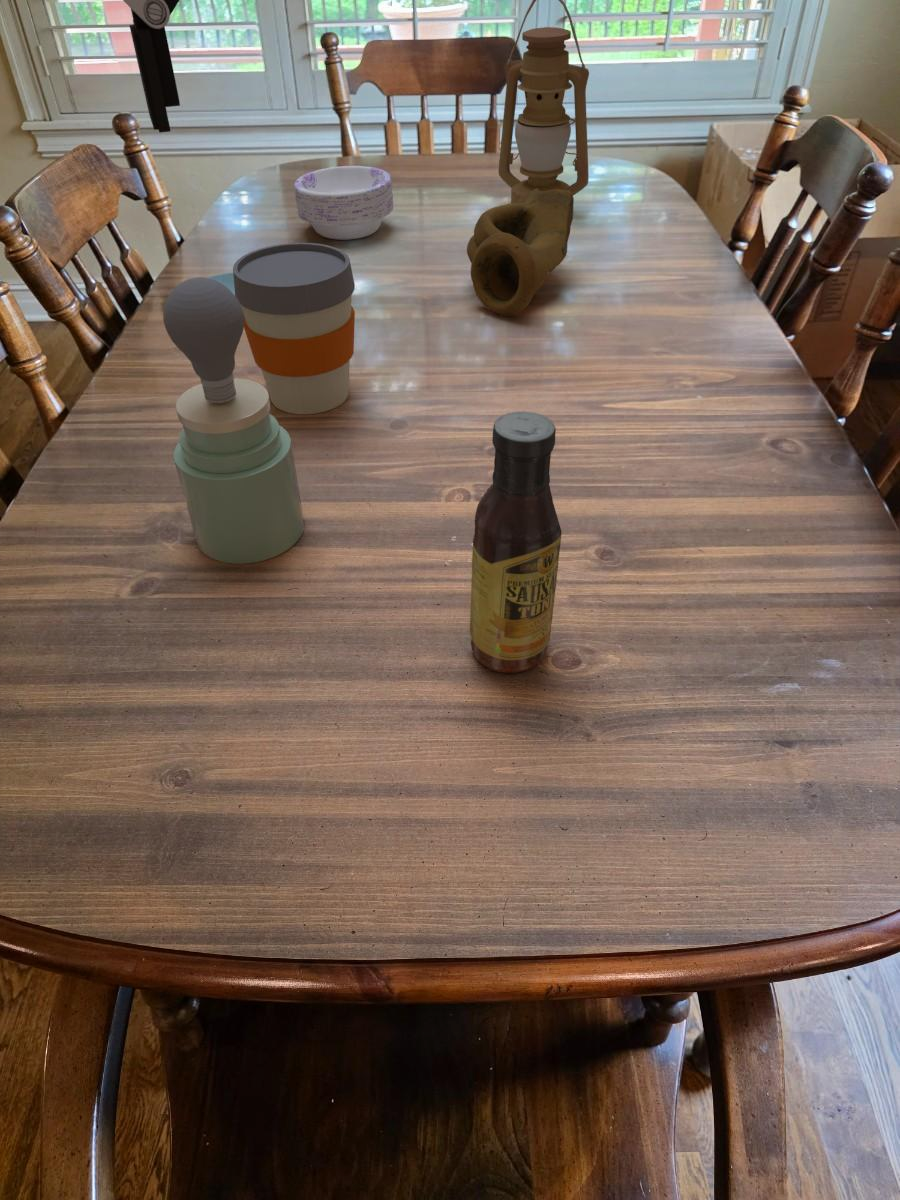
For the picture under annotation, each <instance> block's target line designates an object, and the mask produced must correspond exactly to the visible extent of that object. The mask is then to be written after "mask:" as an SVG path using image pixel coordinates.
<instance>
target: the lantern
mask: <svg viewBox="0 0 900 1200" xmlns="http://www.w3.org/2000/svg"><path fill="white" fill-rule="evenodd" d="M558 1H559V3H560V4H561V5H562V6H563V9H564V11H565V13H566V15H567V18H568V21H569V24H570V29H571V30H569V29H566V28H562V27H553V26H552V27H549V26H548V27H547V26H544V27H536V28H531V29H528V30H525V31H523V32H522V30H523V28H524V25H525V22H526V20H527V17H528V15H529V13H530V12H531V10H532V8H533V6H534V4H535V3H536V2H537V0H532V1H531V2H530V5H529V7H528V9H527V10H526V12H525V15H524V16H523V17H524V18H523V20H522V22H521V26H520V28H519V32H518V34H517V37H516V40H515V42H514V44H513V47H512V49H511V51H510V55H509V58H508V60H507V62H505V63H504V66H503V67H504V73H505V81H506V85H505V87H506V88H505V97H504V107H503V109H504V110H503V119H502V129H501V139H500V147H499V148H500V150H499V160H498V175H499V177H500V179H501V180H502V181H503V182H504V183H505V184H506V185H507V186H508V187H509V188H510V193H511V194H510V203H509V204H512V203H516V202H517V201H518V200H519V199H521V198H523V197H525V196H527V195H528V194H530V193H531V192H532V191H533V190H534V189H536V188H537V189H539V190H540V191H550V190H553V189H560V190H564V191H566V190H568V191H570V192H571V193H572V195H573V196H575V195H576V194H578V193H579V192H581V191H582V190H584V189H585V188H586V187H587V186H588V184H589V155H588V154H589V153H588V152H589V150H588V149H589V148H588V146H589V145H588V123H587V122H588V121H587V97H586V95H587V93H586V91H587V84H588V80H589V76H590V71H589V69H588V68H586V65H585V63H584V62H583V58H582V53H581V51H580V45H579V41H578V37H577V33H576V30H575V26H574V23H573V20H572V17H571V13H570V11H569V9H568V7H567V5H566V3H565V1H564V0H558ZM520 35H521V36H522V37H521V39H522V41H523V42H526V43H527V42H528V43H527V46H525V48H526V49H527V50H526V51H524V52H523V53H522V60H513V59H512V56H513V54H514V51H515V49H516V47H517V44H518V41H519V39H520ZM572 36H573V39H574V43H575V46H576V51H577V53H578V57H579V61H580V63H581V66H580V65H575V64H570V57H569V56H570V52H569V51H568V50H566V49H565V48H566V47H567V45H566V44H565V42H566V41H568V40H570V39H571V38H572ZM520 77H521V81H520V83H519V79H520ZM571 88H573V92H574V93H573V95H574V97H573V98H574V99H573V100H574V118H572V117H571V116H570V115H569V114H567V113H566V108H565V107H564V105H563V103H564V98H565V93H566V91H567V90H570V89H571ZM518 90H520V91H522V92H524V98H525V105H526V106H524V108H523V110H522V113H519V114H518V117H517V122H516V124H515V115H516V114H515V113H516V105H517V96H518V95H517V94H518ZM570 121H572V122H570ZM573 124H575V127H574V128H575V152H568V151H567V148H568V145H569V142H570V138H571V133H572V126H571V125H573ZM514 125H515V127H514ZM513 134H514V136H513ZM513 137H514V138H515V142H516V146H517V151H518V154H516V156H515V157H514V153H513V152H512V147H513V145H512V144H513ZM566 154H567V155H575V158H574V159H573V161H572V166H573V167H574V171H575V172H576V181H575V182H573V183H572V184H570V185H569V184H568V183H567V182H565V181H563V180H559V179H557V178H558V177H559V176H560V175H561V174H563V173H564V165H563V162H564V158H565V155H566ZM518 157H519V160H520V164H521V166H520V167H519V173H520V174H521V175H522V176H525V177H527V179H523V180H520V179H518V178H517V177H516V176H515V175H514V174H513V173H512V172H511V168H510V165H513V162H514V160H516V159H518Z"/></svg>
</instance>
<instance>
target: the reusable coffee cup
mask: <svg viewBox="0 0 900 1200" xmlns="http://www.w3.org/2000/svg"><path fill="white" fill-rule="evenodd" d="M350 259H351V258H350V257H349V255H348V254H347V253H346V252H345V251H343V250H342V249H340V248H338V247H335V246H332V245H327V244H322V243H316V242H315V243H314V242H288V243H280V244H274V245H267V246H264V247H261V248H258V249H256V250H252V251H250V252H248V253H246V254H244V255H242V256H241V257H240V258H238V259H237V260H236V261H235V263H234V264H233V267H232V273H233V276H234V288H235V297H236V298H237V299H238V301H239V303H240V304H241V307H242V310H243V313H244V314H243V315H244V328H243V330H244V332H245V335H246V339H247V342H248V344H249V348H250V350H251V354H252V357H253V360H254V363H255V364H256V366H257V367H258V368H260V370H261V372H262V373H261V374H262V376H263V379H264V382H265V385H266V389H267V391H268V393H269V399H270V402H271V403H272V404H273V406H274V407H275V408H276V409H278V410H280V411H282V412H285V413H288V414H293V415H294V414H295V415H315V414H320V413H321V414H322V413H324V412H328V411H331V410H334V409H336V408H337V407H339V406H341V405H342V404H344V403H345V401H346V400H347V399H348V398H349V394H350V366H351V365H350V363H351V362H350V361H351V359H352V358H353V356H354V354H355V353H354V349H355V320H356V312H355V309H354V306H352V295H353V293H354V291H355V290H356V289H355V285H356V284H355V279H354V274H353V269H352V265H351V260H350Z"/></svg>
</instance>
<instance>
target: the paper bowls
mask: <svg viewBox="0 0 900 1200" xmlns="http://www.w3.org/2000/svg"><path fill="white" fill-rule="evenodd" d="M293 189H294V197H295V204H296V209H297V213H298V217H299V219H301V220H302V221H304V222H305V223H308V224H311V226H312V228H313V229H314V231H315V233H317V234H318V235H320V236H321V237H323V238H327V239H330V240H340V241H349V240H358V239H363V238H365V237H369V236H371V235H373V234H374V233H376V232H377V231H378V230H379V229H380V227H381V225H382V222H383V218H385V217H387V216H389V215H390V214H391V213H392V212H393V210H394V194H393V179H392V177H391V175H390V173H389V172H387V171H385V170H383V169H381V168H378V167H373V166H365V165H341V166H340V165H339V166H331V167H326V168H321V169H317V170H312V171H310V172H306V173H304V174H303V175H300V176H299V177H298V178H297V179H296V180H295V182H294V184H293Z"/></svg>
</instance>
